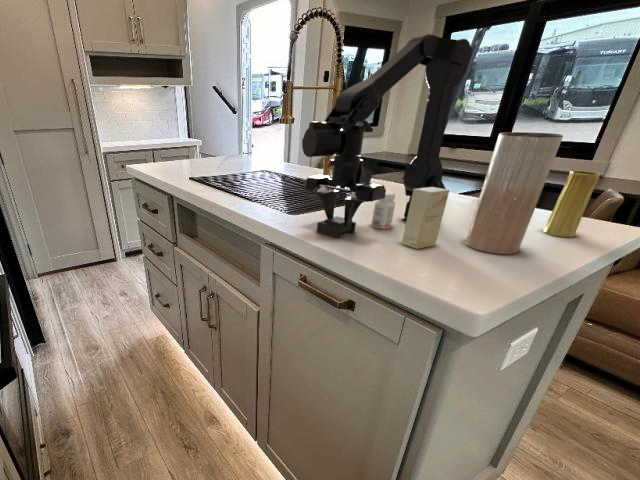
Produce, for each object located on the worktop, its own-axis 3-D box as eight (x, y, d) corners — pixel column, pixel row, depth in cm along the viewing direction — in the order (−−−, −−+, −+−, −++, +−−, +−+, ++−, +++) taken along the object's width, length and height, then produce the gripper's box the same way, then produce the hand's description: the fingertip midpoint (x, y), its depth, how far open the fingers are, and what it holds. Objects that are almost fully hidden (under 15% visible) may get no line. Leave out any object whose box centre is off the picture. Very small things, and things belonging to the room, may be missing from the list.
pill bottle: (387, 224, 95) (394, 191, 91) (392, 229, 90) (399, 195, 86) (369, 223, 95) (374, 191, 91) (373, 228, 91) (379, 195, 87)
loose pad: (350, 230, 88) (352, 220, 86) (339, 233, 85) (340, 223, 84) (335, 225, 91) (336, 216, 90) (324, 229, 88) (325, 219, 87)
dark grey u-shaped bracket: (354, 232, 88) (356, 222, 87) (337, 238, 84) (338, 227, 83) (334, 226, 93) (335, 217, 91) (316, 232, 89) (317, 222, 87)
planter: (507, 241, 82) (547, 132, 72) (526, 256, 74) (575, 136, 63) (459, 237, 85) (491, 131, 74) (472, 252, 76) (511, 135, 65)
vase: (570, 231, 89) (597, 171, 82) (578, 239, 84) (608, 175, 77) (540, 228, 91) (564, 169, 84) (546, 235, 86) (572, 173, 79)
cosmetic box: (416, 249, 78) (430, 192, 72) (400, 243, 81) (412, 188, 75) (436, 245, 80) (451, 189, 74) (419, 239, 84) (432, 185, 78)
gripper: (405, 156, 78) (391, 226, 85) (335, 149, 91) (328, 210, 98) (377, 160, 72) (364, 235, 79) (306, 152, 84) (301, 217, 92)
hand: (338, 223), depth 87 cm, fingers closed on loose pad, 4 cm apart
